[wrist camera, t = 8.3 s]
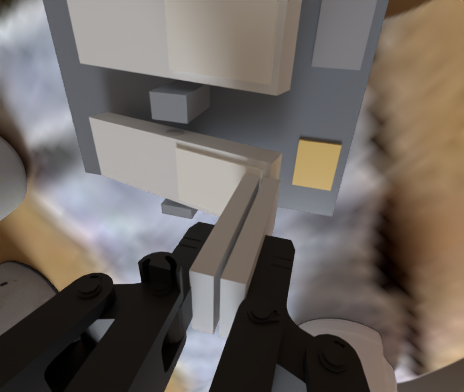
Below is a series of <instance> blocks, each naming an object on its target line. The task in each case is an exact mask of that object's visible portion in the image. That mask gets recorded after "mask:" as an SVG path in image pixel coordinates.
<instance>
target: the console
mask: <svg viewBox="0 0 464 392" xmlns="http://www.w3.org/2000/svg"><path fill="white" fill-rule="evenodd" d="M388 1H389V0H302V3H301V11H300V18H299V26H298V33H297V41H296V48H295V56H294V63H293V71H292V78H291V86H290V90H288V91H286V92H284V93H282V94H280V95H278V96H275V95H269V94H263V93H257V92H251V91H245V90H239V89H233V88H227V87H221V86H215V85H209V84H203V83H196V82H190V81H184V80H178V79H172V78H166V77H160V76H154V75H148V74H142V73H136V72H130V71H124V70H118V69H112V68H106V67H100V66H94V65H88V64H82V63H80V60H79V56H78V51H77V46H76V42H75V37H74V32H73V28H72V23H71V18H70V14H69V9H68V4H67V0H43V3H44V7H45V11H46V15H47V19H48V23H49V27H50V31H51V35H52V39H53V43H54V47H55V51H56V55H57V59H58V63H59V67H60V71H61V75H62V79H63V83H64V87H65V91H66V95H67V99H68V103H69V107H70V111H71V115H72V119H73V123H74V127H75V131H76V135H77V139H78V143H79V147H80V151H81V155H82V159H83V163H84V167H85V171H86V172H87V173H93V174H98V175H101V170H100V166H99V161H98V157H97V152H96V147H95V143H94V138H93V134H92V129H91V125H90V120H89V117H91V116H94V115H98V114H101V113H105V112H110V113H114V114H119V115H123V116H127V117H131V118H136V119H140V120H144V121H148V122H153V123H157V124H161V125H165V126H170V127H174V128H178V129H182V130H187V131H191V132H195V133H200V134H204V135H208V136H212V137H217V138H221V139H225V140H229V141H234V142H238V143H242V144H246V145H251V146H255V147H259V148H263V149H268V150H272V151H276V152H280V153H282V160H281V167H280V175H279V180H281V181H280V188H279V196H278V203H277V207H281V208H287V209H292V210H298V211H303V212H309V213H315V214H320V215H326V216H331V217H332V215H333V211H334V207H335V203H336V200H337V196H338V192H339V188H340V184H341V181H342V177H343V173H344V169H345V165H346V161H347V158H348V154H349V150H350V146H351V142H352V139H353V135H354V131H355V127H356V123H357V119H358V116H359V112H360V108H361V104H362V100H363V96H364V93H365V89H366V85H367V81H368V77H369V74H370V70H371V66H372V62H373V58H374V54H375V51H376V47H377V43H378V39H379V35H380V32H381V28H382V24H383V20H384V16H385V12H386V9H387V5H388ZM161 206H162V213H164V214H169V215H174V216H179V217H184V218H189V219H192V218H193V216H194V215H195V213H196V212H197V211H198V210H197V209H195V208H192V207H189V206H186V205H183V204H181V203H178V202H175V201H172V200H169V199H167V198H166V199H165V200H164V201H163V203H162V204H161Z"/></svg>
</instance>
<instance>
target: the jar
mask: <svg viewBox="0 0 464 392" xmlns="http://www.w3.org/2000/svg"><path fill="white" fill-rule="evenodd" d="M299 327H300V328H301V329H303V330H304V331H306V332H308V333H309V334H311V335H313V336H314V337H315V336H317V335H319V334H331V335H335V336H338V337H340V338H342V339H343V340H345V341H347V342H348V343H349V344H350V345H351V346H352V347H353V348H354V349H355V350H356V352H357V354H358V356H359V358H360V360H361V363H362V367H363V370H364V373H365V376H366V379H367V382H368V386H369V389H370V392H397V382H396V377H395V373H394V370H393V368H392V366H391V365H390V364H389V363H388V362H387V360H386V359H385V357H384V355H383V345H382V340H381V337H380V335H379V333H378V332H377V331H375V330H373V329H371V328H369V327H367V326H365V325H362V324H359V323H356V322H352V321H348V320H342V319H317V320H312V321H308V322H305V323H303V324H301V325H299Z"/></svg>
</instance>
